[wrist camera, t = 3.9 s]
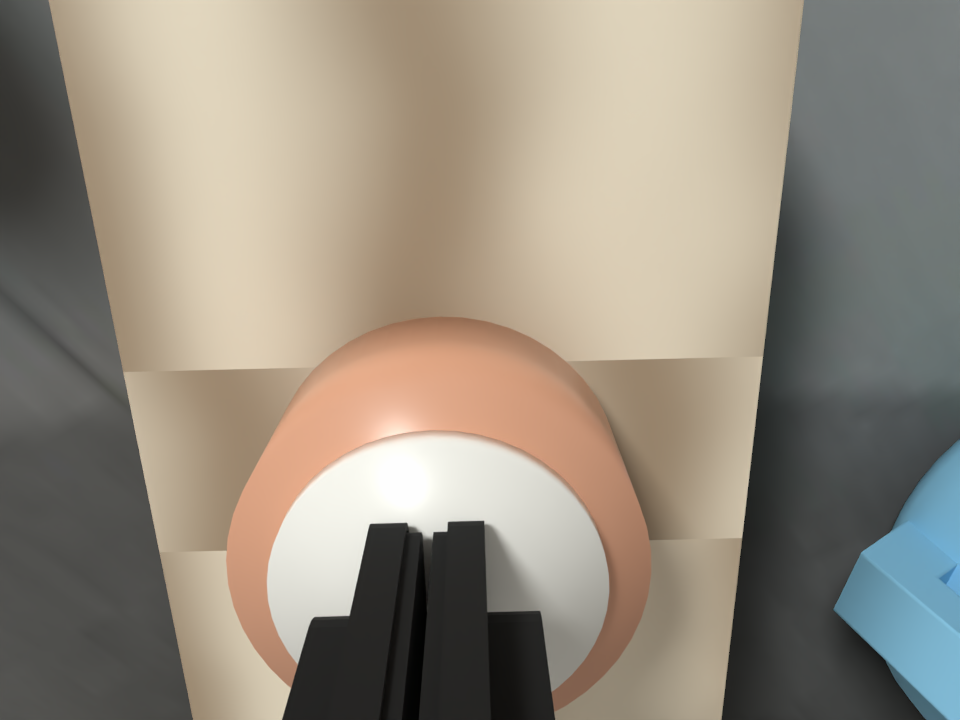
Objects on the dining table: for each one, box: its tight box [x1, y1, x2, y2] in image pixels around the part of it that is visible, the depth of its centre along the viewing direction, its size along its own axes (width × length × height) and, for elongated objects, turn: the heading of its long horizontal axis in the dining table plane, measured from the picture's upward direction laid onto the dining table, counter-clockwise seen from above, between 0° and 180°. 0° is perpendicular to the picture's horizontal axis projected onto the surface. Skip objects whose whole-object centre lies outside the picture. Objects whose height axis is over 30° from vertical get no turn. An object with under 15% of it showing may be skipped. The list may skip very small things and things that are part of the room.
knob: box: [226, 317, 651, 712], centre depth 16 cm, size 6×6×11 cm
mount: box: [49, 0, 804, 720], centre depth 19 cm, size 12×20×8 cm, turn 1°
